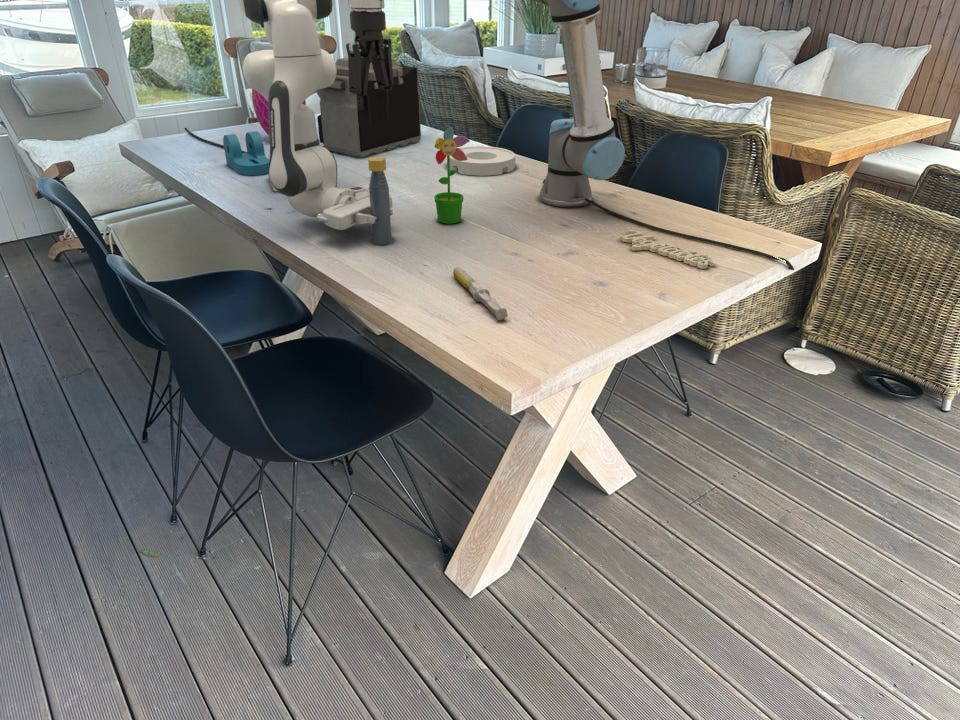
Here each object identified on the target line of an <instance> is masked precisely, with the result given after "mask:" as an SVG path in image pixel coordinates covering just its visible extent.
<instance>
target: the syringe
mask: <svg viewBox="0 0 960 720" xmlns="http://www.w3.org/2000/svg"><path fill="white" fill-rule="evenodd" d="M452 274H453V277H454V279H455V280H457V281H458V282H459V283H460V285H462V287H464V289H466V290H467V291H468V293H470V295H471V296H472V298H473V300H474V302H477V303H478V302H480V303H482V304H483V305H484V306H485V307H486V308H487V309H488V310H489V311H490V312H491V313H492V314H493V315H494V316H495V317H496V320H497V321H503V320H504V319H506V318H507V317H509V314H508V310H507V308H506V307H502V306H501V305H500V303H498V302H497V301H496V300H494V299H493V298H492V297H491V296H490V295H491V293H490V290H488V289H486V288H483V287H482V286H481V285H480V284H479V283H478V282H477V281H476V280H474V278H473V277H471V275H469V274H468V273H467V272H466V270H465V269H464V268H463V267H462V266H456V267H454V268H453V271H452Z"/></svg>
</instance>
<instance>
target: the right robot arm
mask: <svg viewBox="0 0 960 720" xmlns="http://www.w3.org/2000/svg"><path fill="white" fill-rule="evenodd" d="M601 1H602V0H531V2H535V3H538V4H541V5H544V6H549V10H550V17H551V22H552V23H553V25H555V26H556V27H558V28H559V34H560V40H561V45H562V46H561V47H562V54H563V60H564V66H565V72H566V80H567V85H568V93H569V99H570V106H571V112H572V118H562V119H554V120H553V121H552V122H551V124H550V127H549V128H550V129H549V134H548V136H549V141H548V142H549V143H548V156H547V158H548V159H547V173H546V176H545V178H544V179H543V181H542V183H541V184H542V187H541V189H540V192H539V200H540V202H542V203H543V204H546V205H549V206H553V207H558V208H559V207H560V208H580V207H584V206H588V205H589V204H591V205H593V206H595V207H597V208H599V209H600V210H602V211H604V212H606V213H607V214H610V215H613V216H615V217H619V218H620V219H623V220H626V221H628V222H631V223H634V224H636V225H640V226H643V227H645V228H648V229H652V230H654V231H655V230H656V231H659V232H662V233H665V234H670V235H674V236H679V237H681V238H682V237H683V238H687V239H692V240H696V241H700V242H704V243H708V244H712V245H713V244H714V245H717V246H721V247H726V248H731V249H735V250H738V251H743V252H747V253H751V254H753V255H754V254H755V255H758V256H761V257H765V258H768V259H770V260H774V261H779V262H782V261H781V260H779V259H777V258H775V257H773V256H774V255H772V254H769V253H766V252H763V251H758V250H754V249H752V248H747V247H743V246H739V245H735V244H731V243H728V242H727V243H726V242H722V241H718V240H713V239H708V238H704V237H700V236H695V235H691V234H686V233H683V232H677V231H674V230H669V229H665V228H662V227H659V226H655V225H652V224H648V223H645V222H642V221H639V220H636V219H634V218H631V217H630V216H629V217H628V216H626V215H622V214H621V213H617V212H615V211H613V210H611V209H608V208H605V207H604V206H602V205H600V204H598V203H597V202H595V201H593V200H592V199H593V193H592V188H591V184H590V179H592V180H595V181H605V180H608V179H611V177H613V176H615V175H616V174H617V172H618V171H619V169H620V168H621V167H622V166H623V164H624V161H625V156H626V148H625V145H624V144H623V142H622V141H621V140H620V139H619V138H618V137H616V130H615V123H614V120H612V119H610V118H609V117H608V115H607V107H606V100H605V90H604V84H603V83H604V81H603V75H602V67H601V58H600V50H599V40H598V34H597V33H598V32H597V25H596V19H597V17H598V15H599V14H600V12H601V5H600V2H601ZM348 7H349V8H350V9H351V10H350V12H349V22H350V23H349V24H350V29H351V30H352V31H353V32H354V40H353V42H351V43H350V42H347V43H346V44H345V50H346V54H347V58H348V69H349V91H350V93H352V94H355V95H356V96H357V108H358V111H359V124H360V125H365V126H371V114H370V99H369V95H366V93H367V85H368V76H369V67H370V63H371V62H372V65H373V69H374V73H375V77H376V81H377V85H378V88H379V89H380V90H376V100H377V116H378V119H379V120H389V110H388V102H389V100H388V90H392V86H393V84H394V79H393V69H392V59H393V58H392V39H391V38H384V35H383V31H385V30H386V29H387V23H386V12H385V11H383V9H384V8H386V7H385V0H348ZM388 79H389V80H388ZM361 88H362V89H361ZM777 257H778V258H780V259H782V260H785V261H786V263H785V265H787V267H788V268H789V270H790V271H795V268H794V266H793V264H792V263H791V262H790V261H789V260H788V259H787V258H784V257H780V256H777Z"/></svg>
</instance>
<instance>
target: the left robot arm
mask: <svg viewBox="0 0 960 720" xmlns="http://www.w3.org/2000/svg"><path fill="white" fill-rule="evenodd" d="M238 4H239V6H240V8H241V10H242V12H243V13H244V15H245V18H247V19H248V20H250V21H251V22H252V23H255V24H257V25H260V27H261V28H262V29H264V34H265V38H266V40H267V42H268V43H269V45H270V46H271V47H272V49H262V50H256V51H253V52H249V53H247V55H246V56H245V58H244V59H243V61H242V74H243V75H242V76H243V78H244V80H245V82H246V83H247V85H248V86H249V87H250V88H251V89H252V88H253V89H254V90H255V91H257V92H258V93H260V94H261V95H262V96H263V97H264V98H265V99H266V100H267V101H268V115H269V135H268V137H269V138H268V139H269V158H268V159H269V166H268V173H267V174H268V181H269V183H270V185H271V187H272V189H273V191H274V192H275V193H276V192H279V193H280V194H281V195H284V196H286V199H287V203H288V204H289V205H290V207H291V208H292V209H293V210H294V211H296V212H297V213H299V214H302V215H304V216H307V217H311V218H314V219H316V220H317V221H319V222H323V224H324V225H325V226H327V227H330V228H332V229H335V230H339V231H340V230H341V231H343V230H347V229H349V228H352V227H353V226H356V225H359V224H371V223H372V224H373V223H375V222H377V216H376V215H373V214H371V212H370V199H369V189H367V187H365V186H354V187H337V185H338V163H337V159H336V157H335V155H334V154H333V153H332V151H330V150H328V149H327V148H325V147H324V145H321V143H320V139H319V137H318V130H317V122H316V115H315V112H314V110H312V109H311V108H310V107H309V106H308V105H304V104H302V102H303V101H304V100H307V99H308V98H310V97H311V96H312V95H314V94H315V93H316V90H319V89H323V88H327V87H330V86H331V85H332V84H333V83H334V81H335V78H336V73H337V69H336V64H335V63H336V61H335V60H334V58H333V56H332V55H331V53H329V52H328V51H326V50H324V49H323V48H321V43H320V37H319V34H318V29H317V25H316V23H315V19H316V20H317V21H318V20H322V19H326V18H328V17H329V16H330V15H331V13H332V12H333V6H334V0H238ZM184 130H185V132H186V133H188V134H189V135H190V136H192V137H193V138H195V139H198V140H199V141H202V142H203V143H208V144H210V145H214V146H217V147H220V148H223V149H224V144H220V143H218V142H217V143H216V142H214V141H211V140H207V139H205V138H202V137H201V136H198V135H196V134H194V133H192V132H191V131H190V130H189V129H188V127H184ZM242 153H247V151H245V150H242ZM389 200H390V217H391V216H393V215H394V209H393V197H392V195H390V194H389Z"/></svg>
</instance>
